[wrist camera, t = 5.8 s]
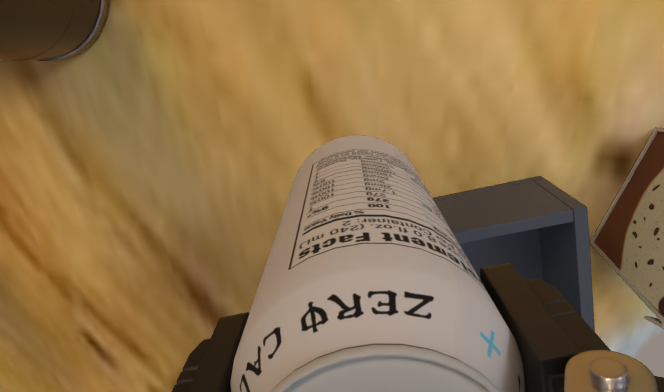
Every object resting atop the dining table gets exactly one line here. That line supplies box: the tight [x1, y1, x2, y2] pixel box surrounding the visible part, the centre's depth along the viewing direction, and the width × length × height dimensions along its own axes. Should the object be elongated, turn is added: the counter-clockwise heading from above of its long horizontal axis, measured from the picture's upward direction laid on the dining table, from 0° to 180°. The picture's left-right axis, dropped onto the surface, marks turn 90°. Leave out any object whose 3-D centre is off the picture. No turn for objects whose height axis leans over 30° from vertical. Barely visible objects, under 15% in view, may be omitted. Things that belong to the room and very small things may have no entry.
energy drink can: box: [230, 135, 525, 392], centre depth 15 cm, size 6×6×15 cm
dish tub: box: [432, 176, 595, 332], centre depth 33 cm, size 18×18×7 cm
